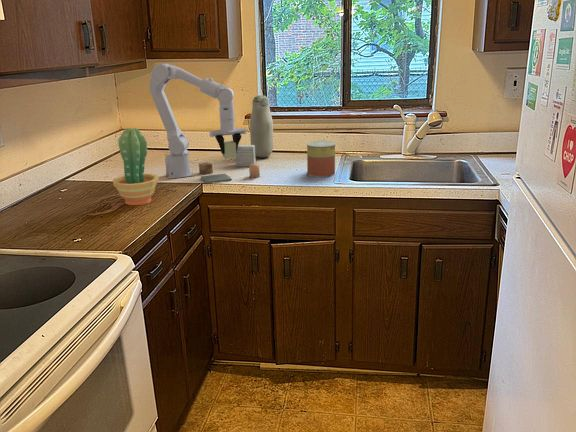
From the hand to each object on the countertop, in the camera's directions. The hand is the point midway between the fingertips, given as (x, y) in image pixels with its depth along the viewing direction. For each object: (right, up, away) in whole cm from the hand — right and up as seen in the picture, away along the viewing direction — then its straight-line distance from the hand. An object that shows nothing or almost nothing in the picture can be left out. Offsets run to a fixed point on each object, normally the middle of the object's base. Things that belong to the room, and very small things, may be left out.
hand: (229, 153), depth 213 cm
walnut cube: (-10, -8, +6) cm, 14 cm away
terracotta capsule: (+10, -10, -1) cm, 14 cm away
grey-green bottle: (+12, +2, +32) cm, 34 cm away
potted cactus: (-28, -20, -29) cm, 46 cm away
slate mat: (-5, -11, -4) cm, 13 cm away
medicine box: (+5, -4, +17) cm, 18 cm away
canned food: (+37, -8, +2) cm, 38 cm away
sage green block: (0, -1, +1) cm, 2 cm away
